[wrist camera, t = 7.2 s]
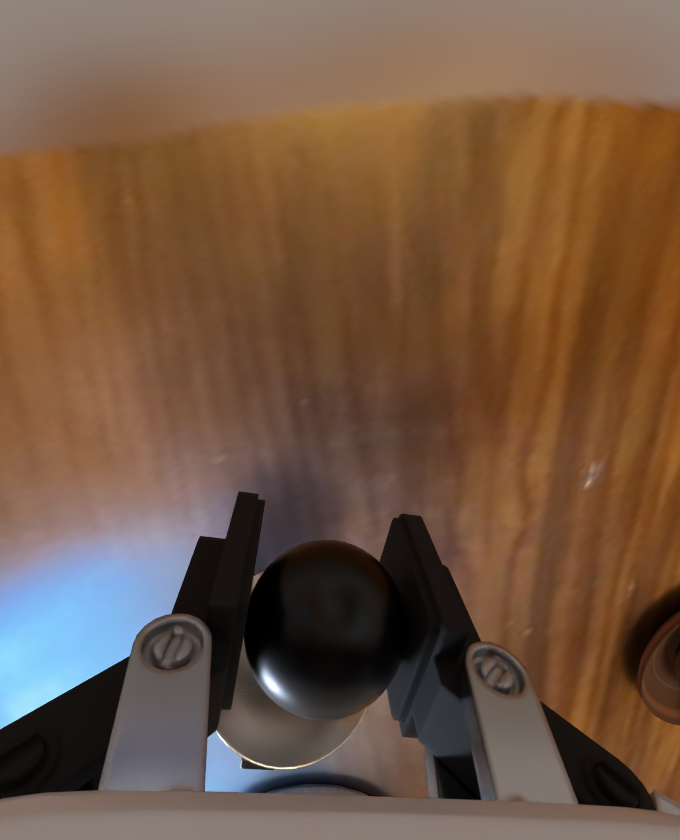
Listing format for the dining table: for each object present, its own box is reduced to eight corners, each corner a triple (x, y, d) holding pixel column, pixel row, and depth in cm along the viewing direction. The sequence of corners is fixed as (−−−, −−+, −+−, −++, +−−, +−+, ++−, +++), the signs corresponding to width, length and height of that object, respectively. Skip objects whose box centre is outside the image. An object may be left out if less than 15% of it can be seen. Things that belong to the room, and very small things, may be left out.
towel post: (222, 614, 24) (218, 447, 9) (325, 624, 25) (469, 487, 10) (196, 745, 21) (122, 813, 6) (316, 752, 22) (517, 825, 7)
